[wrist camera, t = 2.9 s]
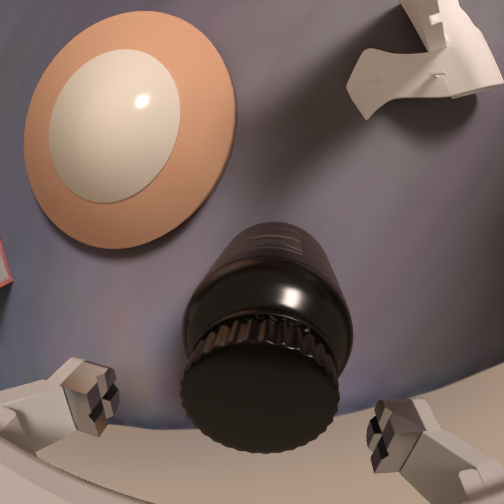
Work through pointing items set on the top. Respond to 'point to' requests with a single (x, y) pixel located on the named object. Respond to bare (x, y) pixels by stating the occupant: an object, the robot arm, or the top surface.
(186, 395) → the supplement bottle
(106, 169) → the peach rimmed plate
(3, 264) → the tea bag
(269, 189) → the top surface
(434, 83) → the plastic part
